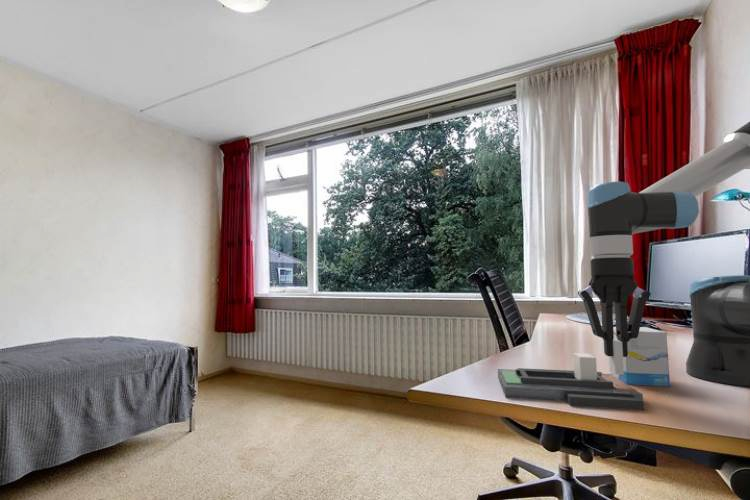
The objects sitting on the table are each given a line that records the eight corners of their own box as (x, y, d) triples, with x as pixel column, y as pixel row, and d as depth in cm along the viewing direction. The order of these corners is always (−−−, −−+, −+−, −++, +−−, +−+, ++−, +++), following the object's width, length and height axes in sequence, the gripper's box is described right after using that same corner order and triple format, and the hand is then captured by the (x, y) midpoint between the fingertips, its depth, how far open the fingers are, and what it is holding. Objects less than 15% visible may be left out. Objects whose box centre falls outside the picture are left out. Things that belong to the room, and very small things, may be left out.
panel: (611, 383, 80) (611, 369, 80) (643, 405, 67) (642, 388, 67) (497, 377, 85) (497, 364, 86) (505, 397, 72) (504, 381, 72)
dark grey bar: (639, 407, 66) (639, 398, 66) (644, 410, 64) (643, 401, 64) (567, 402, 68) (567, 393, 69) (570, 405, 67) (569, 396, 67)
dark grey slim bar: (600, 379, 84) (600, 371, 84) (603, 381, 82) (603, 373, 82) (518, 374, 88) (517, 368, 88) (519, 376, 86) (518, 369, 86)
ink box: (671, 387, 77) (668, 331, 78) (627, 384, 79) (624, 330, 80) (649, 376, 86) (646, 326, 87) (610, 374, 87) (607, 325, 88)
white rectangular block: (590, 377, 77) (588, 353, 77) (597, 383, 73) (596, 357, 73) (574, 376, 77) (573, 353, 78) (580, 382, 73) (579, 357, 74)
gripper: (637, 257, 78) (643, 369, 76) (571, 258, 81) (575, 366, 79) (656, 255, 70) (663, 379, 69) (582, 256, 73) (588, 375, 72)
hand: (616, 372), depth 74 cm, fingers closed
